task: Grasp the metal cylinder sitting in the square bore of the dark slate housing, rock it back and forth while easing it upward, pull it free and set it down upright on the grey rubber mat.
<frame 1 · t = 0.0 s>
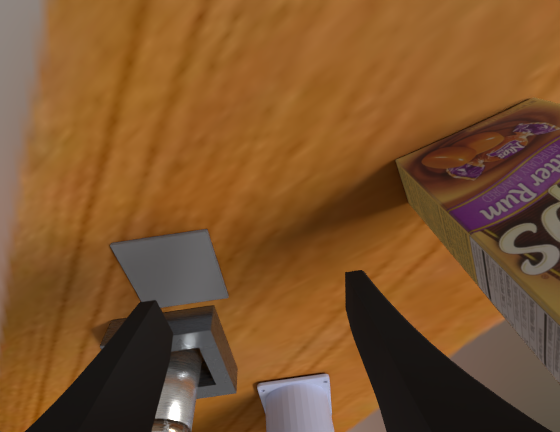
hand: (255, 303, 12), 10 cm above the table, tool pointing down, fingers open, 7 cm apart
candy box: (461, 151, 20), on the table
housing: (180, 346, 29), on the table
mat: (174, 271, 24), on the table
metal cylinder: (171, 389, 25), in the housing
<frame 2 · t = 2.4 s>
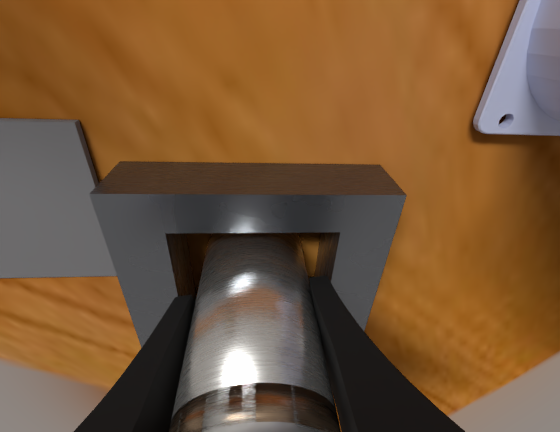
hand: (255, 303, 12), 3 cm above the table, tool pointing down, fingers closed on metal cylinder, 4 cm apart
housing: (254, 253, 14), on the table
mat: (13, 207, 12), on the table
metal cylinder: (255, 325, 11), in the housing, touching gripper
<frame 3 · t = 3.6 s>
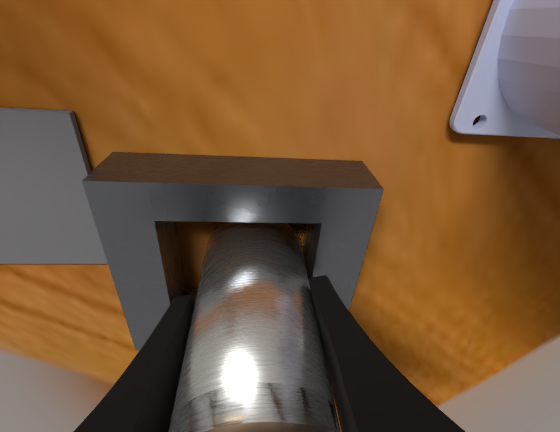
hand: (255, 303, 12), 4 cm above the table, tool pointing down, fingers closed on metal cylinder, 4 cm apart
housing: (242, 244, 15), on the table
mat: (8, 194, 12), on the table
metal cylinder: (254, 325, 11), in the housing, point 5 cm above the table, touching gripper
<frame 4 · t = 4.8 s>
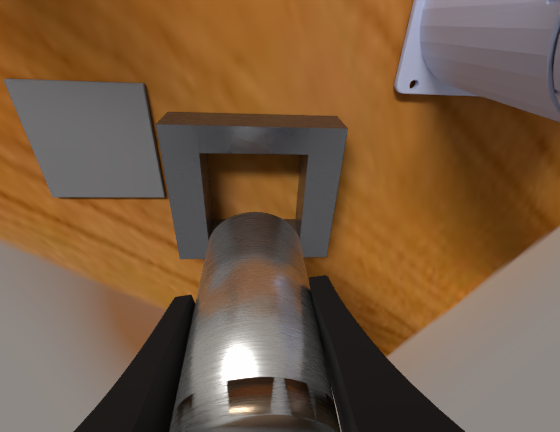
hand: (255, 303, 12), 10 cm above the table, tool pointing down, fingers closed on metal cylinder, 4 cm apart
housing: (254, 182, 20), on the table
mat: (95, 144, 18), on the table
metal cylinder: (255, 322, 11), point 11 cm above the table, touching gripper
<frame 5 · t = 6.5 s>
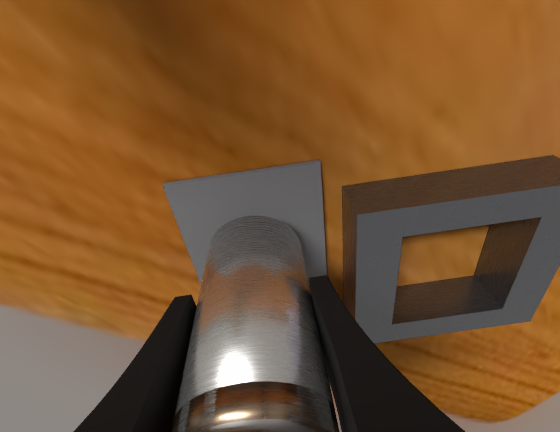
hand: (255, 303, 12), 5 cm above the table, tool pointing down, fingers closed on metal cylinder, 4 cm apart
housing: (432, 244, 17), on the table
mat: (255, 233, 15), on the table
metal cylinder: (255, 325, 11), point 5 cm above the table, touching gripper
when the fingers open (4 cm above the table, at t = 7.5 s): metal cylinder stays where it is, resting on mat.
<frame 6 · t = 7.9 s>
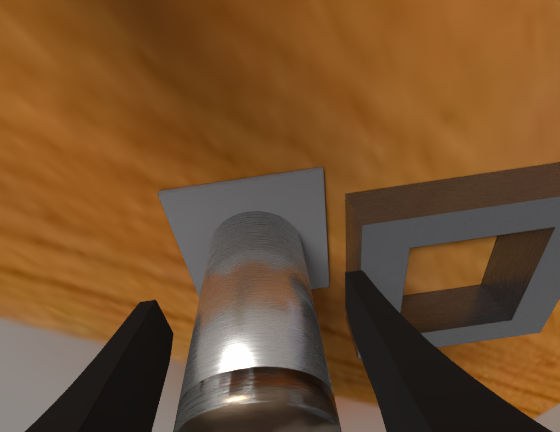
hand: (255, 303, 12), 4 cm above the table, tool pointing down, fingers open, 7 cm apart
housing: (438, 253, 16), on the table
mat: (254, 242, 15), on the table
metal cylinder: (257, 317, 11), resting on mat
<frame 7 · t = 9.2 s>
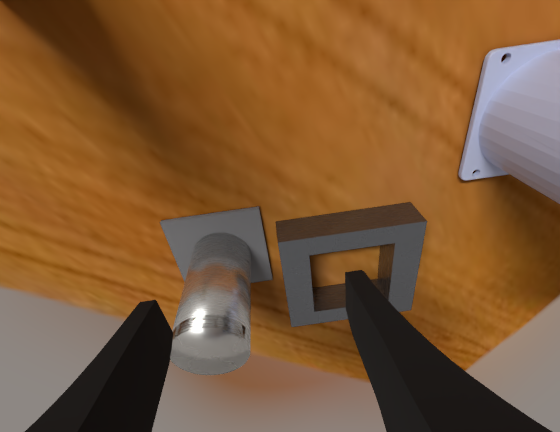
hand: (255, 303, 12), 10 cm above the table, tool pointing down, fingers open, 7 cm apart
housing: (343, 257, 24), on the table
mat: (221, 251, 23), on the table
metal cylinder: (216, 296, 20), resting on mat
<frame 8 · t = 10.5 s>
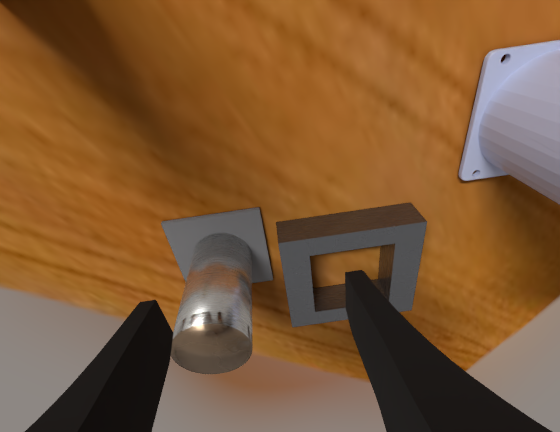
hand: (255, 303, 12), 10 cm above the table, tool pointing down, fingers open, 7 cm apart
housing: (343, 258, 25), on the table
mat: (222, 251, 23), on the table
metal cylinder: (218, 295, 20), resting on mat
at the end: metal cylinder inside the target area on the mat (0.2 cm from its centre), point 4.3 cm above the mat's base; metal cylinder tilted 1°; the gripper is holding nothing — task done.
